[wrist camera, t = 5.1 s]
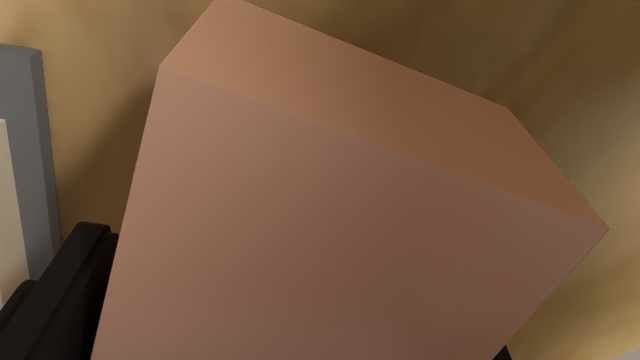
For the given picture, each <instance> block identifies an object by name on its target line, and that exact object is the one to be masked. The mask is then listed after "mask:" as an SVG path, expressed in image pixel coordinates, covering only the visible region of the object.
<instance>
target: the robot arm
mask: <svg viewBox="0 0 640 360" xmlns="http://www.w3.org/2000/svg"><path fill="white" fill-rule="evenodd" d="M118 240H119V236H118V234H117V233H111V229H110V227H109V226H108V225H103V224H96V223H88V222H79V223H78V224H77V225H76V226H75V228H74V229H73V231H72V232H71V233H70V235H69V236H68V238H67V239H66V241H65V242H64V244H63V245H62V246H61V248H60V249H59V251H58V252H57V254H56V255H55V257H54V258H53V259H52V261H51V262H50V264H49V265H48V267H47V268H46V270H45V271H44V272H43V274H42V275H41V277H40V278H39V280H25V281H24V282H22V283H21V284H20V285H19V286H18V287H17V288H16V290H15V291H14V292H13V294H12V295H11V297H10V298H9V299H8V301H7V302H6V303H5V305H4V306H3V307H2V309H1V310H0V360H90V359H91V355H92V351H93V347H94V342H95V338H96V334H97V329H98V325H99V321H100V317H101V312H102V308H103V304H104V300H105V295H106V291H107V287H108V282H109V278H110V274H111V270H112V265H113V261H114V257H115V253H116V248H117V244H118ZM492 360H512V359H511V357H510V354H509V352H508V349H507V347H506V345H505V346H504V347H503V348H502V349H501V350H500V352H499V353H498V354H497V355H496V356H495V357H494V358H493V359H492Z"/></svg>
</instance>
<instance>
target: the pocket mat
mask: <svg viewBox="0 0 640 360" xmlns="http://www.w3.org/2000/svg"><path fill="white" fill-rule="evenodd" d="M61 246H62V243H61V234H60V224H59V215H58V205H57V196H56V186H55V177H54V167H53V158H52V148H51V139H50V129H49V120H48V110H47V101H46V91H45V82H44V72H43V63H42V53H41V50H38V49H31V48H25V47H19V46H13V45H7V44H0V310H1V309H2V307H3V306H4V305H5V303H6V302H7V301H8V299H9V298H10V297H11V295H12V294H13V292H14V291H15V290H16V288H17V287H18V286H19V285H20V284H21V283H22V282H24V281H25V280H39V278H40V277H41V275H42V274H43V272H44V271H45V270H46V268H47V267H48V265H49V264H50V262H51V261H52V259H53V258H54V257H55V255H56V254H57V252H58V251H59V249H60V248H61Z"/></svg>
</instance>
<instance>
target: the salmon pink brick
mask: <svg viewBox="0 0 640 360" xmlns="http://www.w3.org/2000/svg"><path fill="white" fill-rule="evenodd" d="M609 230H610V228H609V227H608V226H607V225H606V224H605V222H604V221H603V220H602V219H601V218H600V217H599V215H598V214H597V213H596V212H595V211H594V209H593V208H592V207H591V206H590V205H589V204H588V202H587V201H586V200H585V199H584V198H583V196H582V195H581V194H580V193H579V192H578V191H577V189H576V188H575V187H574V186H573V185H572V183H571V182H570V181H569V180H568V179H567V178H566V176H565V175H564V174H563V173H562V172H561V170H560V169H559V168H558V167H557V166H556V165H555V163H554V162H553V161H552V160H551V159H550V157H549V156H548V155H547V154H546V153H545V152H544V150H543V149H542V148H541V147H540V146H539V144H538V143H537V142H536V141H535V140H534V139H533V137H532V136H531V135H530V134H529V133H528V131H527V130H526V129H525V128H524V127H523V126H522V124H521V123H520V122H519V121H518V120H517V118H516V117H515V116H514V115H513V114H512V113H511V111H510V110H509V109H508V108H507V107H504V106H502V105H499V104H497V103H494V102H492V101H489V100H487V99H484V98H482V97H480V96H477V95H475V94H472V93H470V92H467V91H465V90H462V89H460V88H457V87H455V86H452V85H450V84H447V83H445V82H443V81H440V80H438V79H435V78H433V77H430V76H428V75H425V74H423V73H420V72H418V71H415V70H413V69H411V68H408V67H406V66H403V65H401V64H398V63H396V62H393V61H391V60H388V59H386V58H383V57H381V56H378V55H376V54H374V53H371V52H369V51H366V50H364V49H361V48H359V47H356V46H354V45H351V44H349V43H346V42H344V41H342V40H339V39H337V38H334V37H332V36H329V35H327V34H324V33H322V32H319V31H317V30H314V29H312V28H309V27H307V26H305V25H302V24H300V23H297V22H295V21H292V20H290V19H287V18H285V17H282V16H280V15H277V14H275V13H273V12H270V11H268V10H265V9H263V8H260V7H258V6H255V5H253V4H250V3H248V2H245V1H243V0H214V1H213V2H212V3H211V4H210V5H209V7H208V8H207V9H206V10H205V11H204V13H203V14H202V15H201V16H200V17H199V19H198V20H197V21H196V22H195V23H194V24H193V26H192V27H191V28H190V29H189V30H188V32H187V33H186V34H185V35H184V36H183V38H182V39H181V40H180V41H179V42H178V44H177V45H176V46H175V47H174V48H173V49H172V51H171V52H170V53H169V54H168V55H167V57H166V58H165V59H164V60H163V61H162V63H161V64H160V65H159V69H158V73H157V77H156V82H155V86H154V90H153V94H152V99H151V103H150V107H149V111H148V116H147V120H146V124H145V129H144V133H143V137H142V141H141V146H140V150H139V154H138V159H137V163H136V167H135V171H134V176H133V180H132V184H131V188H130V193H129V197H128V201H127V206H126V210H125V214H124V218H123V223H122V227H121V231H120V235H119V240H118V244H117V248H116V253H115V257H114V261H113V265H112V270H111V274H110V278H109V282H108V287H107V291H106V295H105V300H104V304H103V308H102V312H101V317H100V321H99V325H98V329H97V334H96V338H95V342H94V347H93V351H92V355H91V359H90V360H492V359H493V358H494V357H495V356H496V355H497V354H498V353H499V352H500V350H501V349H502V348H503V347H504V346H505V345H506V344H507V343H508V342H509V340H510V339H511V338H512V337H513V336H514V335H515V334H516V333H517V332H518V330H519V329H520V328H521V327H522V326H523V325H524V324H525V323H526V322H527V320H528V319H529V318H530V317H531V316H532V315H533V314H534V313H535V312H536V311H537V309H538V308H539V307H540V306H541V305H542V304H543V303H544V302H545V301H546V299H547V298H548V297H549V296H550V295H551V294H552V293H553V292H554V291H555V289H556V288H557V287H558V286H559V285H560V284H561V283H562V282H563V281H564V280H565V278H566V277H567V276H568V275H569V274H570V273H571V272H572V271H573V270H574V268H575V267H576V266H577V265H578V264H579V263H580V262H581V261H582V260H583V258H584V257H585V256H586V255H587V254H588V253H589V252H590V251H591V250H592V249H593V247H594V246H595V245H596V244H597V243H598V242H599V241H600V240H601V239H602V237H603V236H604V235H605V234H606V233H607V232H608V231H609Z"/></svg>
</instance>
